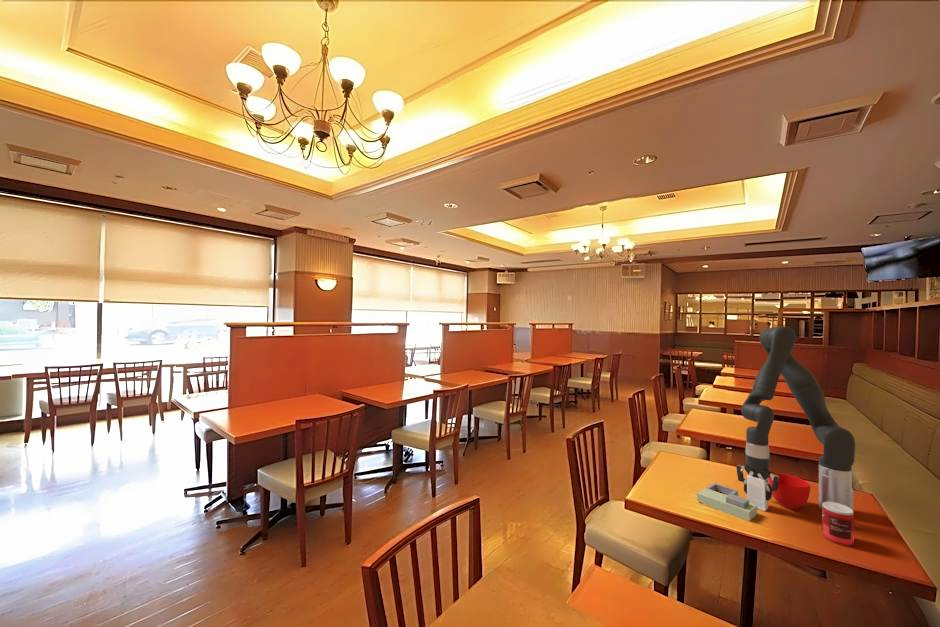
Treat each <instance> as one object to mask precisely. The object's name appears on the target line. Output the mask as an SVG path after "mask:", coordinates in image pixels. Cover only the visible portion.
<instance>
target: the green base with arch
mask: <svg viewBox="0 0 940 627" xmlns="http://www.w3.org/2000/svg"><path fill="white" fill-rule="evenodd" d="M715 490H717V491H719V492H717V491H715ZM720 492H722V493H720ZM723 493H724V494H723ZM726 494H727V495H726ZM697 501H698V502H701V503H703V504H702V505H704V504H705V505H704V506H706V505H708V506H707V507H709V506H710V507H709V508H712V507H713V508H712V509H714V510H717V509H718V510H717V511H720V512H723V513H725V514H728V515H731V516H734V517H736V518H739V519H742V520H745V521H746V522H751V521H752V520H753V519H754V518H755V517H756V516H757V515H758V509H757V505H754V504H751V503H749V500H748V499H747V498H746V497H742V496H739V490H737V489H734V488H731V487H728V486H725V485H722V484H720V483H717V482H714V483H711V484H710V485H708V486H707V487H705V488H703V489H702V490H700V491H699V492H697V493H696V502H697ZM698 502H697V503H698ZM701 503H700V504H701Z"/></svg>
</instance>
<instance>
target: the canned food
mask: <svg viewBox="0 0 940 627" xmlns="http://www.w3.org/2000/svg"><path fill="white" fill-rule="evenodd" d="M821 520H822V521H821V524H822V525H821V526H822V527H821V529H822V530H821V532H822V535H823V537H824V538H825V539H826V540H827V541H830V542H831V543H834V544H836V545H840V546H844V547H850V546H853V545H854V542H855V539H854V538H855V514H854V509H853V510H852V509H851V508H849V507H847V506H845V505H842V504H839V503H835V502H823V504H822V510H821Z"/></svg>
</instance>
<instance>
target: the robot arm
mask: <svg viewBox="0 0 940 627" xmlns="http://www.w3.org/2000/svg"><path fill="white" fill-rule="evenodd" d="M758 338H759V342H760V344H761V346H762V348H763V349H764V350H765V351H766V353H767V354H768V357H767V359H766V361H765V362H764V364H763V365H762V366H761V368H760V370H759V371H758V372H757V374H756V376H755V379H754V382H753V386H752V389H751V392H750V393H749V394H748V396H747V397H746V399H745V401H744V402H743V404H742V405H741V408H740V409H741V410H740V412H741V416H742V417H743V418H744V419H745V420H749V421H751V422H755V423H757V424H756V426H749V427H747V428H746V436H745V438H746V440H745V441H746V442H745V444H746V445H745V450H744V452H745V465H741V464H738V465H736V474H737V481H739V482H740V483H742V484H743V491H744V493H745V494H746V495H747V476H751V477H752V476H753V477H756V478H759V479H761V480H766V479H767V482H766V481H765V486H766V500H768V502H769V501H770V500H771V499H772V497H773V496H772V491H774V492H775V491H776V490H777V489H778V485H779V479H780V476H779V475H773V473H771V471H770V448H769V447H770V446H769V434H770V431H771V428H772V426H773V423H774V420H775V414H774V411H773V409H772V408H771V407H770V406H766V405H763V404H761V403H762V402H764V401H772V400H773V399H774V396H775V392H776V390H777V389H776V388H777V386H778V382H779V378H780V376H782V378H783V379H784V381H785V383H786V385H787V387H788V388H789V390H790V392H791V393H792V396H793V397H794V398H795V401H796V402H797V403H798V404H799V406H800V408H801V410H802V411H803V412H804V413H805V415H806V418H807V419H808V421H809V424H810V426H811V428H812V431H813V433H814V436H815V437H816V439H817V441H818V442H820V443H821V444H822V445H823V451H822V452H823V454H822V455H820V456H819V457H818V508H819V509H820V510H821V511H822V504H823V502H835V503H839V504H842V505H845V506H847V507H849V508H851V509H852V510H853V511H854V488H852V482H853V481H852V474H853V473H852V472H853V471H852V470H853V469H852V468H853V466H854V463H855V457H856V456H855V455H856V439H855V438H854V434H853V433H851V432H850V431H849V430H847V429H845V428H843V427H842V426H840V425H839V424H838V423H837V422H836V421H835V419H834V418H833V416H832V415H831V413H830V412H829V410H828V408H827V405H826V399H825V394H824V391H823V388H822V387H821V385H820V384H819V382H818V380H817V378H816V377H815V375H814V374H813V373H812V372H811V371H810V370H809V369H808V368H806V366H804V365H803V364H802V363H800V362H799V361H798V360H797V359H796V358H795V357H794V355H793V354H792V353H791V352H792V350H793V348H794V346H795V344H796V341H797V335H796V333H795V331H794V330H793V329H792V328H791V327H788V326H772V327H767V328H763V329H762V330H761V332H760V333H759V336H758ZM744 471H745V472H746V474H747V476H744ZM744 477H745V478H744ZM768 477H771V479H772V480H773V485H772V487H771V485H770V482H769V480H768Z"/></svg>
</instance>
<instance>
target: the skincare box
mask: <svg viewBox="0 0 940 627" xmlns="http://www.w3.org/2000/svg"><path fill="white" fill-rule="evenodd" d="M746 477H747V494H746V499H748V500H749V503H751V504H754V505H757V510H759V511H762V512H766V511H767V510H768V509H769V501H768V500H766V486H765V481H766V482H767V479H766V480H761V479H759V478H756V477H753V476H752V477H751V476H748V475H747V476H746Z"/></svg>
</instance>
